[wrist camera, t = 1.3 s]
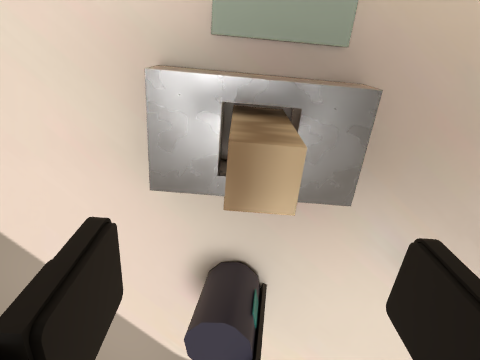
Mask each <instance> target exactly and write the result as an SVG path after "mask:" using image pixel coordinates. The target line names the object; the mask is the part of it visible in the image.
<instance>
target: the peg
mask: <svg viewBox="0 0 480 360" xmlns="http://www.w3.org/2000/svg"><path fill="white" fill-rule="evenodd" d="M306 152H307V147H306V145H305V144H304V142H303V140H302V139H301V137H300V136H299V134H298V133H297V131H296V129H295V128H294V126H293V125H292V123H291V122H290V120H289V118H288V117H287V115H286V114H285V112H284V111H283V109H273V108H261V107H250V106H239V105H234V107H233V114H232V121H231V128H230V135H229V143H228V156H227V170H226V183H225V197H224V210H229V211H242V212H254V213H267V214H280V215H292V216H295V211H296V205H297V200H298V195H299V189H300V184H301V179H302V173H303V168H304V163H305V158H306Z"/></svg>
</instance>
